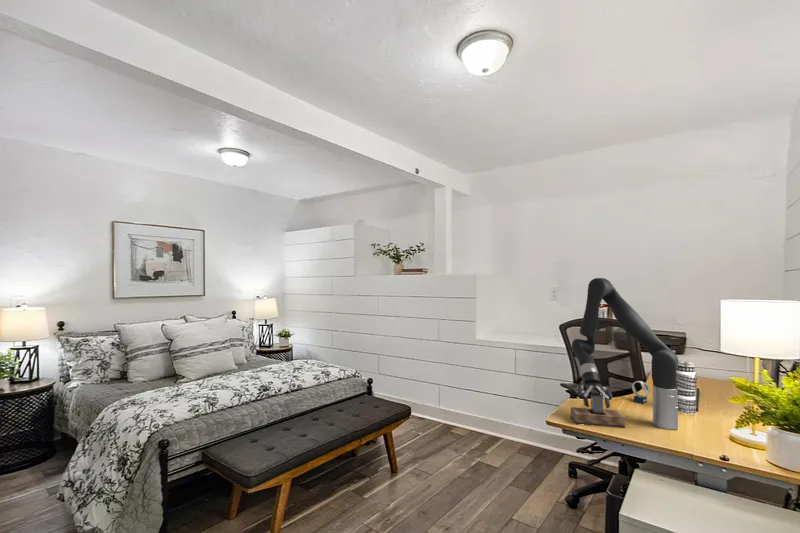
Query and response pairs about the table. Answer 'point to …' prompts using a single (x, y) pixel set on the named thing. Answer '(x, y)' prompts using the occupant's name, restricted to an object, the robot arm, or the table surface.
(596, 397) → the grey rectangular block
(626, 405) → the table surface
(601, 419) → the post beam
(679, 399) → the model tower building
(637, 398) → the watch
